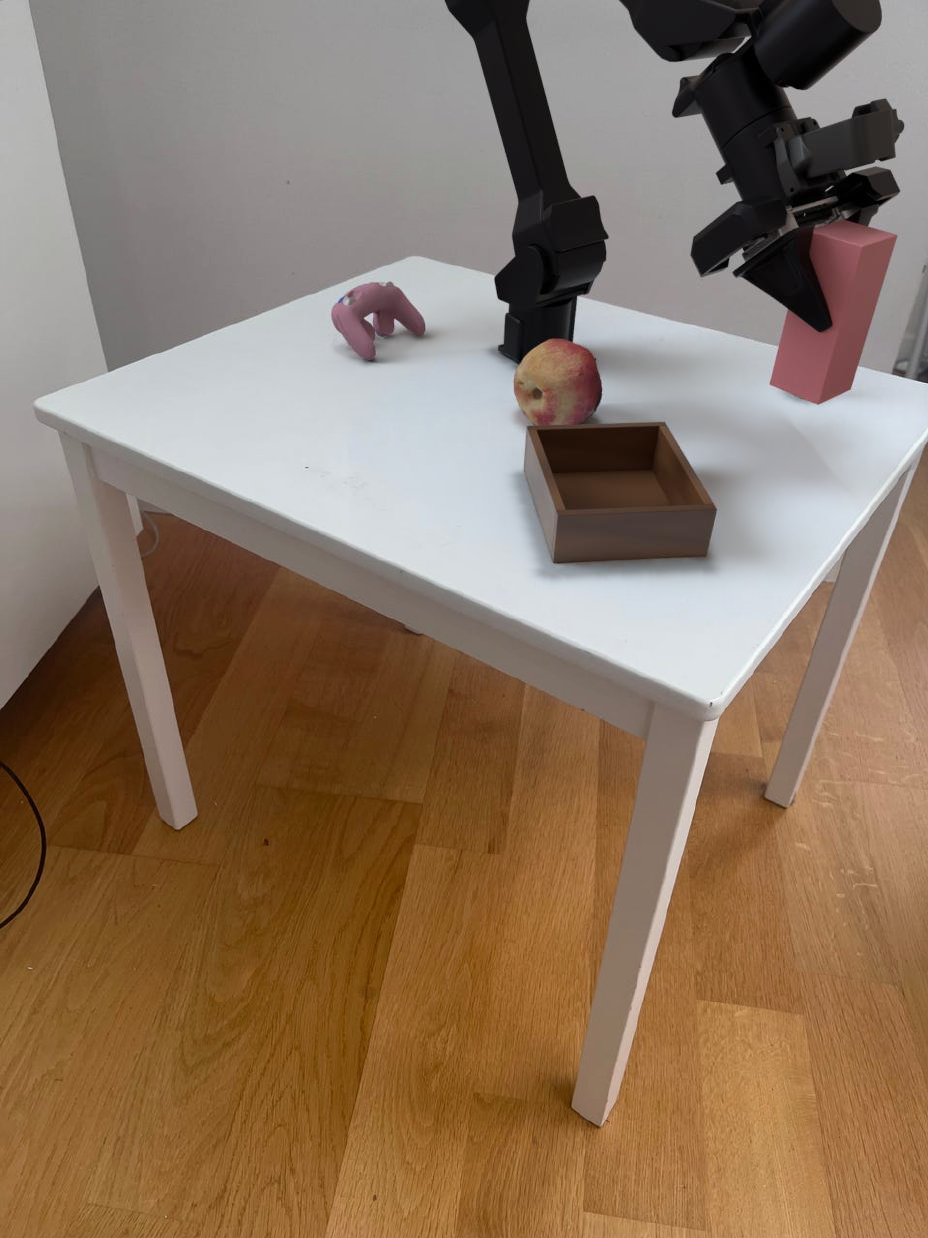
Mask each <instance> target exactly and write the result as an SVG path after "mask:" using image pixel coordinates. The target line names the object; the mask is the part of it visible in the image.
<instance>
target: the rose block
mask: <svg viewBox="0 0 928 1238" xmlns="http://www.w3.org/2000/svg"><path fill="white" fill-rule="evenodd" d="M897 239H898V234H896V233H893V232H889V231H885V230H882V229H878V228H874V227H871V226H869V225H868V226H864V225H860V224H857V223H853V222H850V221H846V220H839V221H836V222H833V223H829V224H826V225H823V226H819V227H816V228H814V232H813V237H812V242H811V247H810V259H811V261H812V264H813V266H814V269H815V272H816V275H817V277H818V280H819V283H820V286H821V288H822V291H823V294H824V297H825V299H826V302H827V305H828V308H829V312H830V316H831V319H832V323H833V325H832V327H830V328H829V329H827V330H825V331H823V332H818V331H816V330H815V329H814V328H812V327H811V326H810V325H808V324H807V323H806V322H804V321H803V320H802V319H801V318H799V317H798V316H797V315H795V314H794V313H793V312H791V311H790V310H789V309H787V310H786V314H785V315H786V316H785V319H784V324H783V328H782V331H781V335H780V336H781V337H780V340H779V343H778V348H777V352H776V355H775V360H774V364H773V368H772V373H771V377H770V381H769V385H770V386H772V387H774V388H777V389H779V390H782V391H784V392H786V393H789V394H791V395H793V396H795V397H797V396H798V398H800V399H803V400H806V401H807V402H810V403H813V404H815V405H817V406H818V405H822V404H823V403H825V402H828V401H829V400H832V399H834V398H836V397H839V396H840V395H842V394H845V393H847V392H849V391H851V390H852V387H853V383H854V382H855V378H856V374H857V370H858V367H859V364H860V361H861V358H862V354H863V350H864V347H865V344H866V341H867V338H868V335H869V331H870V329H871V325H872V321H873V319H874V314H875V311H876V307H877V304H878V301H879V298H880V295H881V291H882V288H883V285H884V282H885V278H886V275H887V272H888V269H889V266H890V263H891V262H890V261H891V259H892V257H893V256H892V255H893V253H894V249H895V246H896V242H897Z"/></svg>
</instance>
